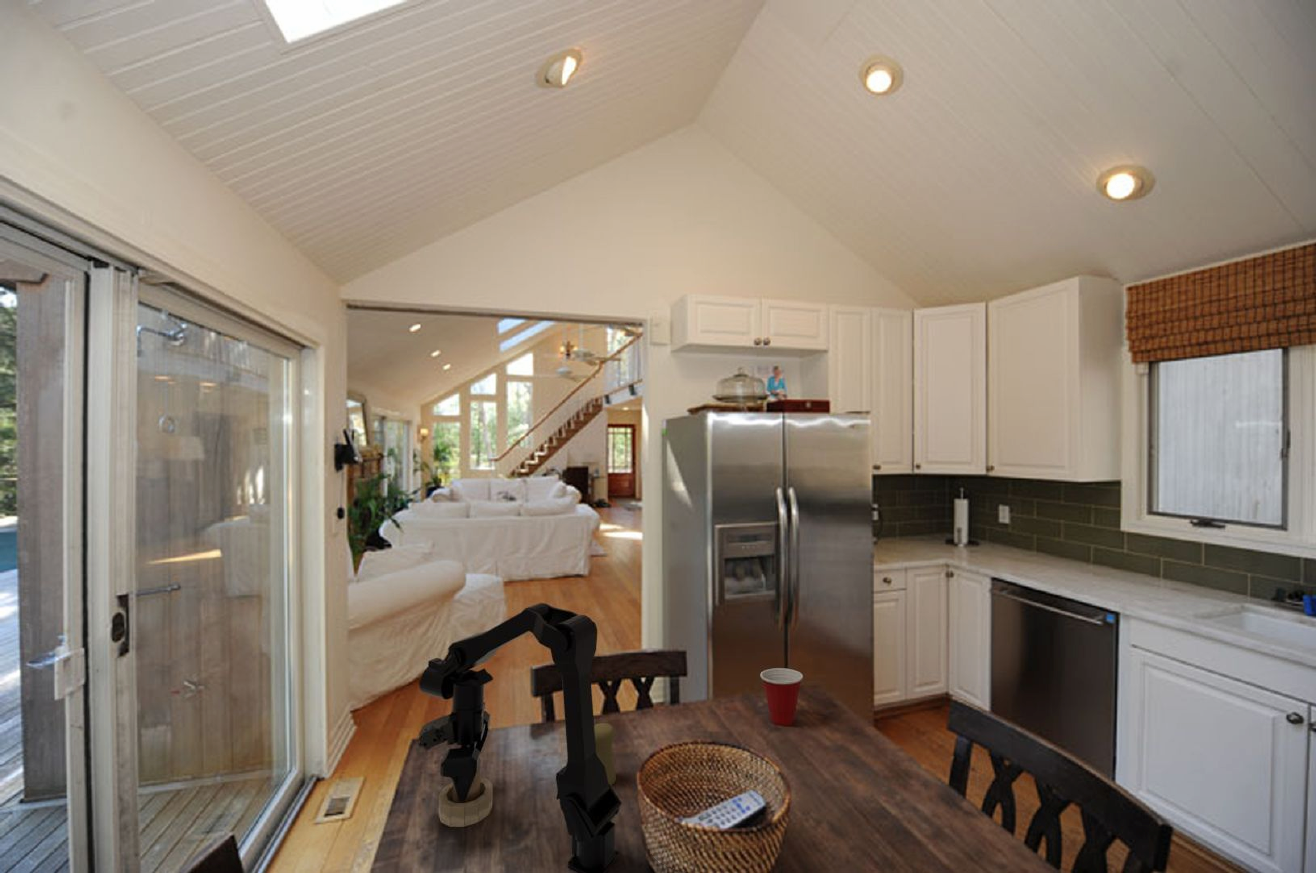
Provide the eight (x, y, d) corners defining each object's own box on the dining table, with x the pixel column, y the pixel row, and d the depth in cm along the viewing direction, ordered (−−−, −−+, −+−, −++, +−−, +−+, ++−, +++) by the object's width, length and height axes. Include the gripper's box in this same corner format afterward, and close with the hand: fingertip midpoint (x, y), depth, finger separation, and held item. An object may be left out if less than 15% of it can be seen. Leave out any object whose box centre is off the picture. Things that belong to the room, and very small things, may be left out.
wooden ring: (501, 803, 107) (502, 785, 107) (464, 833, 99) (464, 813, 99) (467, 789, 111) (467, 772, 111) (428, 816, 103) (428, 797, 103)
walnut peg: (485, 807, 106) (486, 759, 106) (465, 822, 102) (466, 772, 102) (466, 799, 108) (467, 752, 109) (446, 813, 104) (447, 765, 104)
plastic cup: (777, 706, 149) (777, 662, 150) (811, 721, 141) (811, 674, 141) (751, 718, 142) (751, 671, 143) (785, 735, 134) (785, 685, 135)
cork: (611, 789, 112) (612, 734, 112) (583, 785, 113) (583, 731, 113) (619, 772, 118) (619, 720, 118) (592, 769, 119) (593, 717, 119)
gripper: (435, 685, 113) (433, 762, 113) (410, 730, 95) (408, 822, 95) (491, 682, 115) (489, 758, 115) (477, 726, 97) (475, 816, 96)
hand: (466, 786), depth 105 cm, fingers open, 9 cm apart
